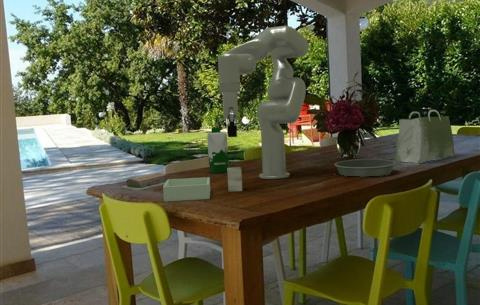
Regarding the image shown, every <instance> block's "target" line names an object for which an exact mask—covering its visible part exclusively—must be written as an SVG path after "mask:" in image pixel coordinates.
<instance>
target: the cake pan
mask: <svg viewBox="0 0 480 305" xmlns="http://www.w3.org/2000/svg"><path fill="white" fill-rule="evenodd" d="M333 164H334V166H335V167H336V169H337V172H338V175H340V174H341V175H340V176H342V175H344V176H343V177H347V176H360V177H359V178H365V177H364V176H380V175H386V174H389V173H391V172H392V173H393V169H394V166H395V165H396V164H397V163H396V162H394V160H391V159H384V158H383V159H382V158H357V159H356V158H355V159H348V160H347V159H346V160H341V161H337V162H335V163H333ZM361 176H362V177H361ZM386 176H387V175H386ZM380 177H381V176H380Z"/></svg>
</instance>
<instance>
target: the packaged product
mask: <svg viewBox="0 0 480 305" xmlns="http://www.w3.org/2000/svg"><path fill="white" fill-rule="evenodd" d="M167 180H169V179H168V177H167V174H165V173H162V172H155V173H151V174H144V175H140V176H135V177H130V178H128V179H126V185H122V186H121V190H123V189H125V190H124V191H131V190H132V192H141V191H144V189H145V190H149V188H150V189H154V188H157V186H159V187H162V185H163V186H164V185H165V183H166V181H167ZM153 187H154V188H153ZM140 190H141V191H140Z"/></svg>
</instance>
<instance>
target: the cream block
mask: <svg viewBox="0 0 480 305" xmlns="http://www.w3.org/2000/svg"><path fill="white" fill-rule="evenodd" d="M226 174H227V187H228V188H227V189H228V192H242V191H243V178H242V177H243V176H242V167H239V166H237V167H228V168H227V173H226Z"/></svg>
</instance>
